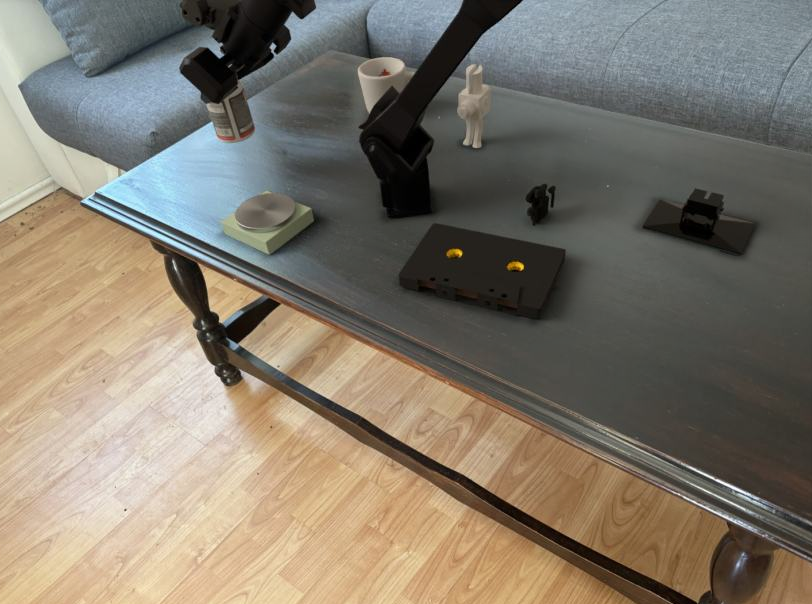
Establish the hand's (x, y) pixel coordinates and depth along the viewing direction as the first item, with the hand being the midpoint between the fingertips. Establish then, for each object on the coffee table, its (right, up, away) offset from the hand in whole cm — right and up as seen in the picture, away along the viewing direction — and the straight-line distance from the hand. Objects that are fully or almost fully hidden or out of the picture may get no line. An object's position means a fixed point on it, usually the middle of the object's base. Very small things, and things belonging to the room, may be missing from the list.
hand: (215, 91), depth 93 cm
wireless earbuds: (+45, -19, -3) cm, 49 cm away
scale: (+8, -20, 0) cm, 21 cm away
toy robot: (+38, -4, +12) cm, 40 cm away
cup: (+25, +4, +21) cm, 33 cm away
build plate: (+65, -21, -7) cm, 69 cm away
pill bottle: (+2, -5, +4) cm, 7 cm away
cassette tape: (+37, -27, -11) cm, 47 cm away
